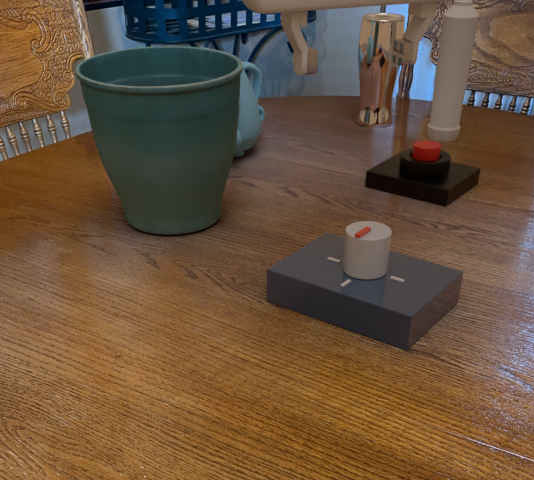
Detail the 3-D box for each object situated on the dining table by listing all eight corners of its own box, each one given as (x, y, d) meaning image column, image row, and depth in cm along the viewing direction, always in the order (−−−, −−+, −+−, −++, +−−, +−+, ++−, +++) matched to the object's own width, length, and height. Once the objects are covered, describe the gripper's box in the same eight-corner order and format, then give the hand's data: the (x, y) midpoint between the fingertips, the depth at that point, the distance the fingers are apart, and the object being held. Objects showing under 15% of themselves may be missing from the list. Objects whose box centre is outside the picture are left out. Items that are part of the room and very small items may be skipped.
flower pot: (249, 246, 81) (246, 82, 70) (93, 251, 80) (63, 86, 69) (243, 189, 94) (239, 44, 83) (108, 193, 94) (86, 47, 82)
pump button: (443, 157, 93) (445, 143, 92) (431, 164, 91) (433, 150, 90) (419, 152, 95) (421, 138, 94) (406, 159, 93) (408, 145, 91)
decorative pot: (183, 131, 114) (175, 34, 105) (275, 141, 110) (275, 40, 101) (134, 162, 103) (120, 57, 94) (235, 175, 98) (230, 65, 89)
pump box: (477, 184, 96) (483, 154, 93) (445, 207, 90) (451, 175, 87) (399, 167, 101) (403, 137, 98) (364, 187, 95) (367, 156, 92)
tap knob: (357, 256, 71) (360, 214, 68) (395, 267, 69) (401, 224, 66) (334, 271, 68) (336, 228, 66) (373, 284, 66) (377, 240, 64)
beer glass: (361, 114, 121) (369, 11, 111) (400, 119, 118) (412, 14, 108) (346, 125, 116) (354, 18, 106) (386, 130, 114) (398, 22, 104)
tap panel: (457, 303, 71) (464, 269, 68) (406, 350, 64) (412, 315, 62) (324, 262, 78) (326, 230, 76) (266, 301, 71) (266, 267, 69)
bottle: (418, 137, 111) (445, -60, 94) (438, 130, 114) (468, -63, 97) (445, 145, 108) (477, -58, 91) (465, 138, 111) (500, -60, 94)
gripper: (252, -147, 46) (255, 89, 55) (514, -148, 51) (476, 66, 60) (221, -148, 50) (228, 71, 59) (465, -149, 55) (437, 51, 65)
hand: (355, 68), depth 60 cm, fingers open, 8 cm apart
